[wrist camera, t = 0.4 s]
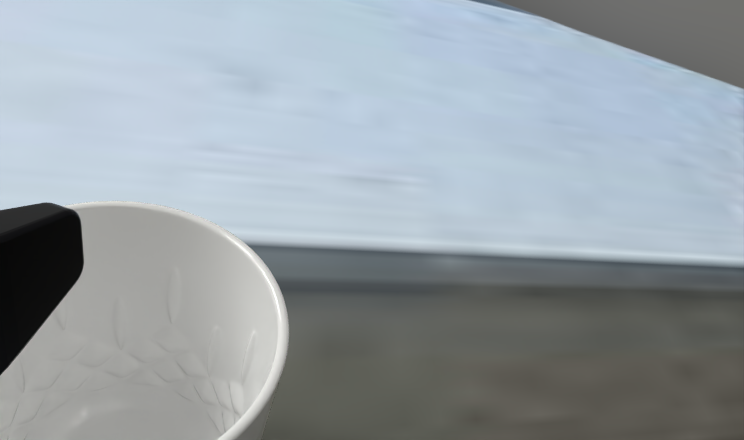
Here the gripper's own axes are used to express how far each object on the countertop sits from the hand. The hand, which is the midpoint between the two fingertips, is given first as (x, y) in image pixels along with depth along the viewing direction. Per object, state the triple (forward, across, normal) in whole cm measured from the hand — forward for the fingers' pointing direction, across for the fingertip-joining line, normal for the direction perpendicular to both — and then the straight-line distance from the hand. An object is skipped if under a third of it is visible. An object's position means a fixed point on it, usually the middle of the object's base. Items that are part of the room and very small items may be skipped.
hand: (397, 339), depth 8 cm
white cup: (+5, +8, +14) cm, 17 cm away
